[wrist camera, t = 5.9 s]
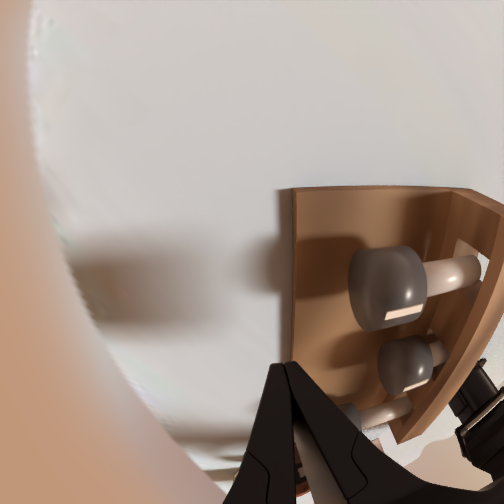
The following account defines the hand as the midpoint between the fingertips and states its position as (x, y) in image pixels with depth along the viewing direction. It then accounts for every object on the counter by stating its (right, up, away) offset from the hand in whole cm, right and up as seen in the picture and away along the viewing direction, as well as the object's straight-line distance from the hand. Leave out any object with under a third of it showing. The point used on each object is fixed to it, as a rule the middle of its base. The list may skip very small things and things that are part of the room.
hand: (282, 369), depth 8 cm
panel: (+8, -2, +10) cm, 13 cm away
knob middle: (+12, -3, +8) cm, 15 cm away
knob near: (+8, +3, +5) cm, 10 cm away
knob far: (+9, -9, +11) cm, 17 cm away
